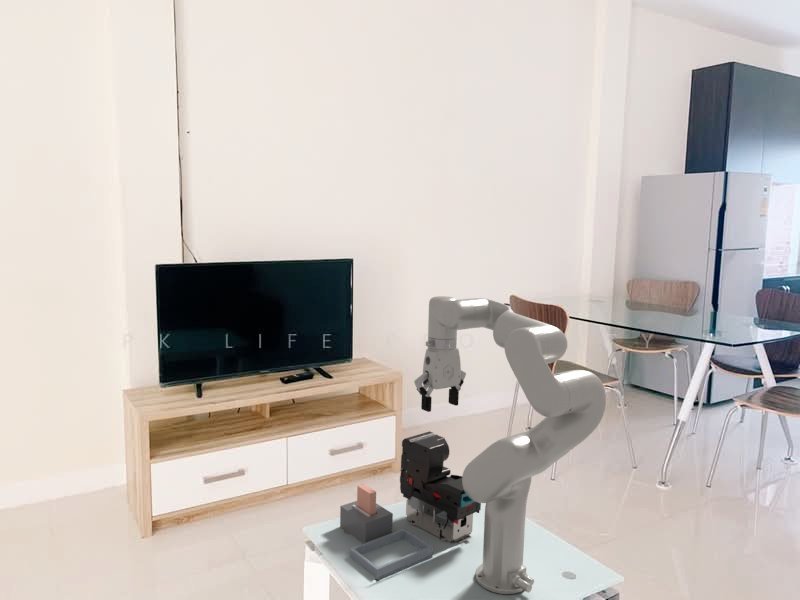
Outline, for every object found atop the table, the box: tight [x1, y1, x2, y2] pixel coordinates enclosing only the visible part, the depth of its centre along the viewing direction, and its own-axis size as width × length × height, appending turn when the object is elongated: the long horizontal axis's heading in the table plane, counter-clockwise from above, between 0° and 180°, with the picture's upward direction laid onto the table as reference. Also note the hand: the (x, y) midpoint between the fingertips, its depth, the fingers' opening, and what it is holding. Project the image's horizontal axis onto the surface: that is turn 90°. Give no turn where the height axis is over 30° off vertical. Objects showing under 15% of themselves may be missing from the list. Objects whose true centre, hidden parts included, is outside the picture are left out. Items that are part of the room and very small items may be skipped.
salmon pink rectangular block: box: [356, 483, 377, 516], centre depth 164 cm, size 6×2×12 cm, turn 39°
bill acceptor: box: [399, 430, 482, 544], centre depth 167 cm, size 10×23×25 cm, turn 44°
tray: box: [349, 528, 434, 582], centre depth 153 cm, size 12×18×3 cm, turn 129°
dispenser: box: [339, 500, 394, 544], centre depth 165 cm, size 12×9×7 cm
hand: (440, 407), depth 159 cm, fingers open, 9 cm apart
